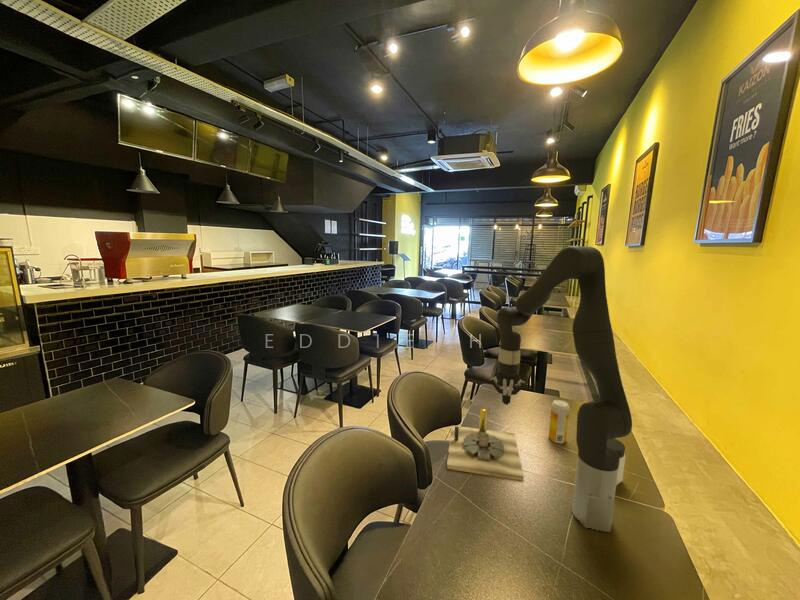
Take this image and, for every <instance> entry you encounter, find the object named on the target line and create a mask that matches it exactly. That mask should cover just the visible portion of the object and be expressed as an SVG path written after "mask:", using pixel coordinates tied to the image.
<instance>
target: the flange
mask: <svg viewBox="0 0 800 600" xmlns="http://www.w3.org/2000/svg"><path fill="white" fill-rule="evenodd" d="M487 416H488V409H487V408H485V407H480V409H479V423H478V425H479V426H478V429H479V432H477V435H476V434H475V433H471V434H469V435H467V436H466V437H465V438H464V442H463V448H465V451H466V452H468V453H469V454H470V455H471V456H473V457H474V456H476V455H478V459H483V460H490V457H491V458H493V459H494V460H496V459H498V458H500V457H502V456H503V453H504V444H503V443H501V440H499V439H498V438H496V437H495V436H493V435H492V436H490V437H488V445H489V446H490V447H489V448H487V449H485V448H480V447H479V446H477V445H476V444H478V443H479V434H480V433H482V432H483V433H486V430H487V421H488V419H487V418H488V417H487Z"/></svg>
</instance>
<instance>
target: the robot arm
mask: <svg viewBox="0 0 800 600" xmlns="http://www.w3.org/2000/svg"><path fill="white" fill-rule="evenodd" d="M568 280H577V282H578V287H579V296H580V298H579V304H578V307H577V310H576V312H575V316H574V319H573V322H572V337H573V343H574V348H575V352H576V354H577V356H578V357H579V359H580V360H581V362H582V363H583V364H584V366H585V367H586V369H588V372H590V374H591V375H592V377H593V379H594V381H595V383H596V386H597V387H596V388H597V391H598V396H599V400H598V401H597V400H596V401H589V402H583V404H581V405H580V406H579V408H578V411H577V416H576V419H577V420H576V435H575V438H576V446H577V451H578V452H577V460H576V469H575V479H574V486H573V496H572V504H571V505H572V506H571V511H572V514H573V517H575V518H577V519H576V520H577V521H578V520H579V521H580V522H579V521H578V522H579V523H580V524H581V525H582V526H583V527H585V528H584V529H587V528H592V529H591V530H593V529H595V530H594V531H599V530H600V531H599V532H604V533H605V532H606V533H611V530H612V521H613V514H614V507H615V496H616V490H617V485H616V483H617V476H618V469H619V461H620V459H619V455H618V453H617V452H616V451H615V450H614V449H613V448H611V447H610V446H608V445H607V440H608V439H614V438H615V439H619V438H625V437H626V436H629V435H630V433H631V432H632V427H633V418H632V414H631V409H630V407H629V406H630V405H629V402H628V399H627V397H626V391H625V390H624V389H625V388H624V386H623V382H622V377H621V373H620V369H619V368H620V367H619V363H618V359H617V353H616V345H615V340H614V338H615V337H614V333H613V328H612V324H611V317H610V311H609V304H608V298H607V291H606V290H607V289H606V288H607V287H606V269H605V260H604V257H603V255H602V253H601V251H600V250H599V249H598V248H596V247H592V246H587V245H586V246H581V245H568V246H566V247H563V248H562V249H561V250H560V251H559V252H558V253H557V254H556V255H555V256H554V257H553V259H551V262H550V263H549V264H548V265H547V267H546V268H545V269H544V270H543V272H542V273H541V275H540V276H539V277H538V278H537V280H536V281H535V282H534V283H532V284H531V286H530V287H528V289H527V290H526V291H524V292H523V293H522V294H521V295H520V296H519V297H517V299H516V300H515V305H514V306H505V307H502V308H500V309H499V310H498V312H497V315H496V320H497V326H498V332H499V335H500V339H499V340H500V341H499V351H498V357H497V359H498V362H497V371H496V374H495V376H494V377H490V379H489V380H490V383H491V385H492V386H493V388H494V389H495V390H496V391H497V393H498V394H501V395H502V396H501V401H502V403H503V404H504V405H506V406H508V405H509V404H511V396H513V395H514V396H517V394H518V393H519V392H520V391H521V390H522V389H523V388H524V387H525V386H526V382H525V380H522V379H521V377H520V365H521V364H520V363H521V344H522V343H521V341H522V339H521V338H522V336H521V334H520V333H518V332H516V331H514V330H513V327H518V326H519V327H520V326H522V325H524V324H526V323H528V321H529V320H530V319H531V317H532V316H533V314H534V313H535V312H536V311H538V310H539V309H540V308H542V307H543V306H545V305H546V303H547V302H548V301H549V299H550V298H551V296H552V292H553V291H554V289H555V288H556V287H557V286H558V285H560V284H562V283H564V282H565V281H568ZM498 382H499V383H500V385H501V386H502V387H500V385H499V384H498Z"/></svg>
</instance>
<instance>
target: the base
mask: <svg viewBox="0 0 800 600" xmlns="http://www.w3.org/2000/svg"><path fill="white" fill-rule="evenodd" d="M460 427H461V428H460ZM459 429H460V430H459ZM477 432H479V428H476V427H475V428H474V427H467V426H466V427H465V426H460V425H451V429H450V434H449V435H450V436H449V444H448V445H449V446H448V451H447V452H448V453H449V454H448V453H447V459H446V460H447V462H446V469H447V470H452V471H458V472H466V473H471V474H478V475H484V476H490V477H498V478H502V479H503V478H504V479H509V480H510V479H511V480H515V481H523V482H524V479H525V477H524V472H523V468H522V463H521V458H520V454H519V448H518V443H517V440H516V436H515V433H513V432H505V431H498V430H489V429H486V433H483V432H482V433H480V434H479V443H478V444H476V445H477V446H479V447H480V448H485V449H487V448H489V447H490V446H489V445H488V437H490V436H492V435H493V436H495V437H496V438H498V439H499V440H501V443H503V444H504V453H503V456H502V457H500V458H498V459H496V460H494V459H493V458H491V457H490V460H483V459H478V455H476V456H474V457H473V456H471V455H470V454H469V453H468V452H466V451H465V448H463V442H464V438H465V437H466V436H467V435H469V434H471V433H475V434H476V435H477ZM455 438H456V439H455ZM454 440H455V441H454Z"/></svg>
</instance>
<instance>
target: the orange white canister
mask: <svg viewBox="0 0 800 600" xmlns="http://www.w3.org/2000/svg"><path fill="white" fill-rule="evenodd" d="M569 405H570V403H568V402H567V401H564V400H562V399H554V400H553V401H552V402H551V405H550V406H551V407H550V416H549V417H550V418H549V429H548V438H550V440H551V441H552V442H553V443H555V444H561V445H562V444H565V443H566V442H567V438H568V429H569V428H568V426H569V417H570V411H571V410H570V409H571V407H570V406H569Z"/></svg>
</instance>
